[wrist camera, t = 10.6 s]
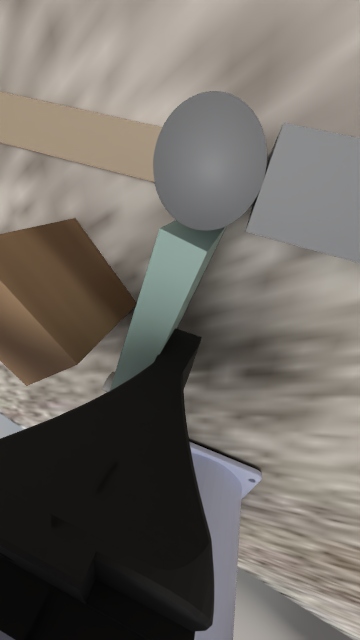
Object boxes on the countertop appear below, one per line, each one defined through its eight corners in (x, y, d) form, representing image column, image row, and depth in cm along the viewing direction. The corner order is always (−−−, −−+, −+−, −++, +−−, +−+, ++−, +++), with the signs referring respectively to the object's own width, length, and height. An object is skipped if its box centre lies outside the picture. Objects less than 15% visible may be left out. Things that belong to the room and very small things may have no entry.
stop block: (75, 217, 11) (-35, 241, 7) (137, 303, 12) (77, 364, 8) (35, 257, 13) (-69, 294, 9) (92, 327, 14) (26, 385, 10)
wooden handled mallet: (424, 256, 8) (610, 345, 4) (-67, 128, 10) (-274, 98, 6) (480, 190, 7) (843, 210, 2) (-89, 66, 9) (-356, -19, 5)
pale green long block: (181, 200, 8) (132, 215, 5) (245, 231, 8) (234, 265, 5) (125, 365, 14) (85, 421, 11) (161, 384, 14) (132, 446, 11)
